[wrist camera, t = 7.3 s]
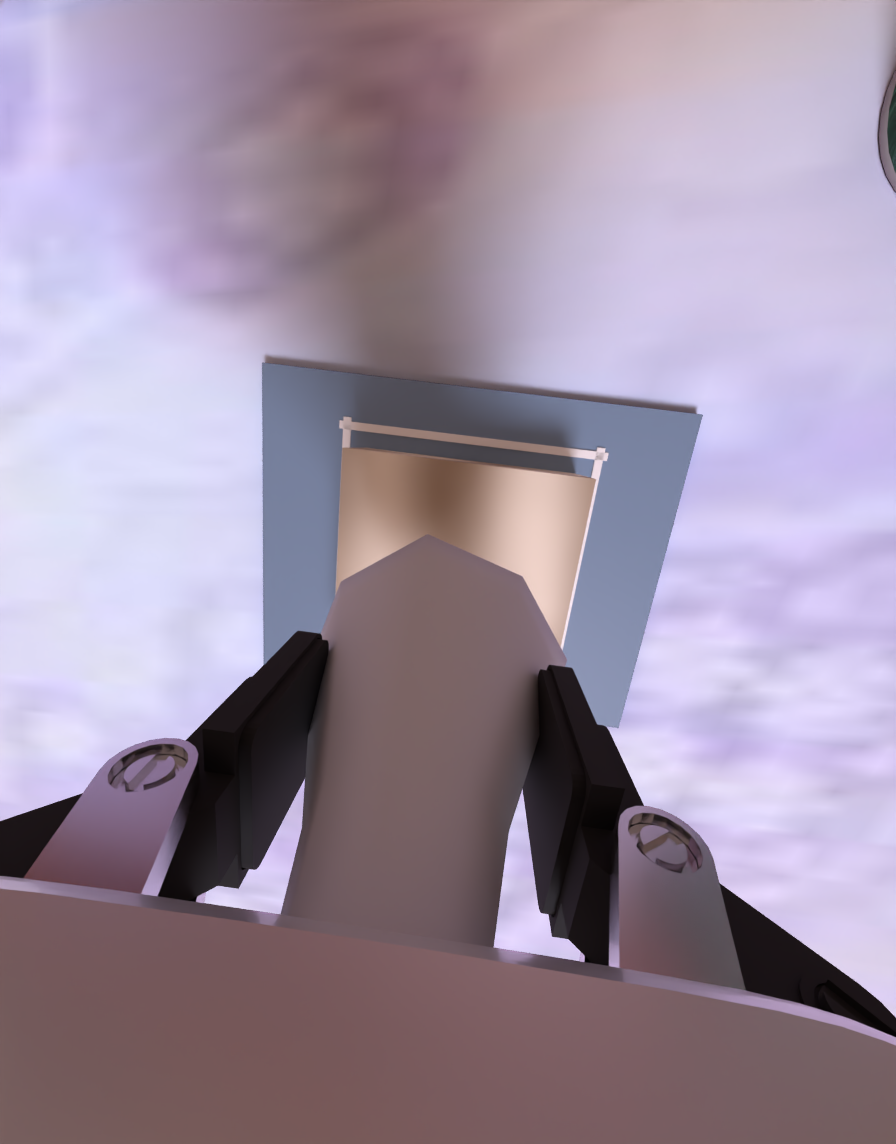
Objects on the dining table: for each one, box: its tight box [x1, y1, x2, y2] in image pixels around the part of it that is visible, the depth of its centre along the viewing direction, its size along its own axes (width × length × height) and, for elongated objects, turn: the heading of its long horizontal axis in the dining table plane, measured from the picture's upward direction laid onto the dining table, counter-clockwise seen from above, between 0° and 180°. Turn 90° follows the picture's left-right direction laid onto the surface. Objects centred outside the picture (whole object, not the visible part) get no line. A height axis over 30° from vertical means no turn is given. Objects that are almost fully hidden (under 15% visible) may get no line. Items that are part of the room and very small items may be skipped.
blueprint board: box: [262, 363, 703, 728], centre depth 24 cm, size 22×18×1 cm
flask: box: [281, 534, 567, 947], centre depth 8 cm, size 7×7×10 cm
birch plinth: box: [336, 448, 596, 647], centre depth 22 cm, size 11×11×4 cm
